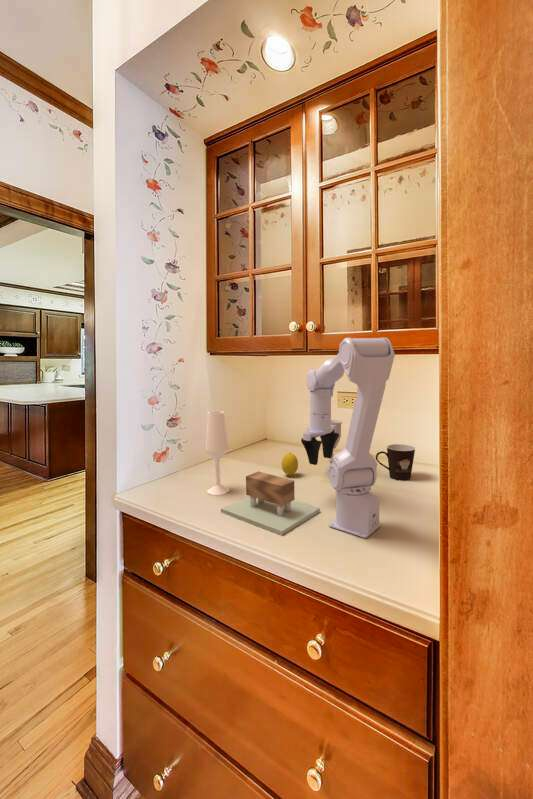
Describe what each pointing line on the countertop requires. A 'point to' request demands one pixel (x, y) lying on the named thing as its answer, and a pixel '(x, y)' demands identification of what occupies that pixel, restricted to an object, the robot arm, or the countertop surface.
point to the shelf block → (270, 488)
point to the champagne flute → (216, 445)
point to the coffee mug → (399, 461)
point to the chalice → (338, 430)
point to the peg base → (271, 513)
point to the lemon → (289, 464)
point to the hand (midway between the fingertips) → (320, 460)
